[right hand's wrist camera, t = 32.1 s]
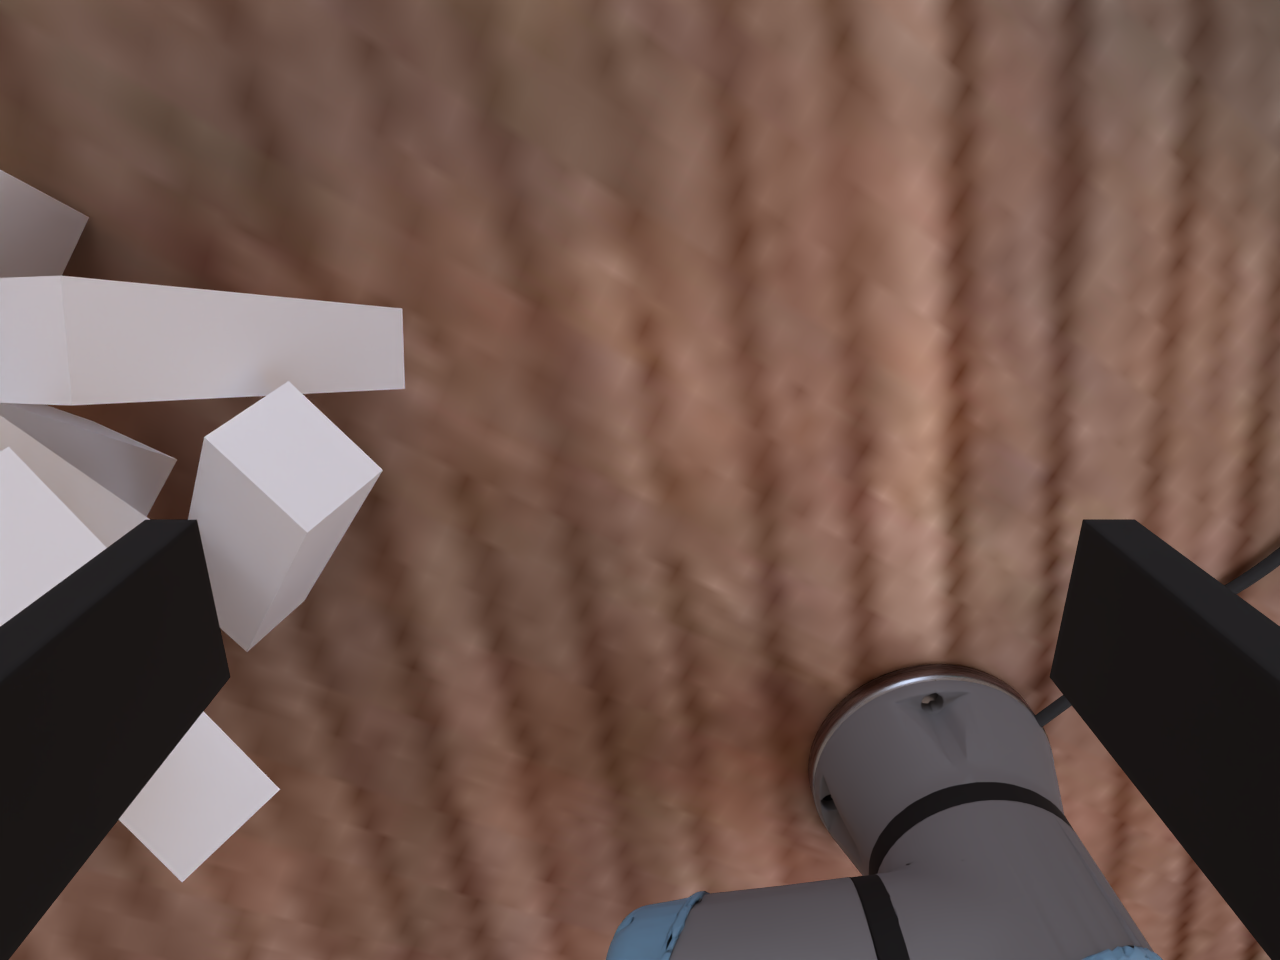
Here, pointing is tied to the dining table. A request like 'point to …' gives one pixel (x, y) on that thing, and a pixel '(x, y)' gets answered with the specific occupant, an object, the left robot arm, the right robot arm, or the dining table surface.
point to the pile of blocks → (135, 473)
